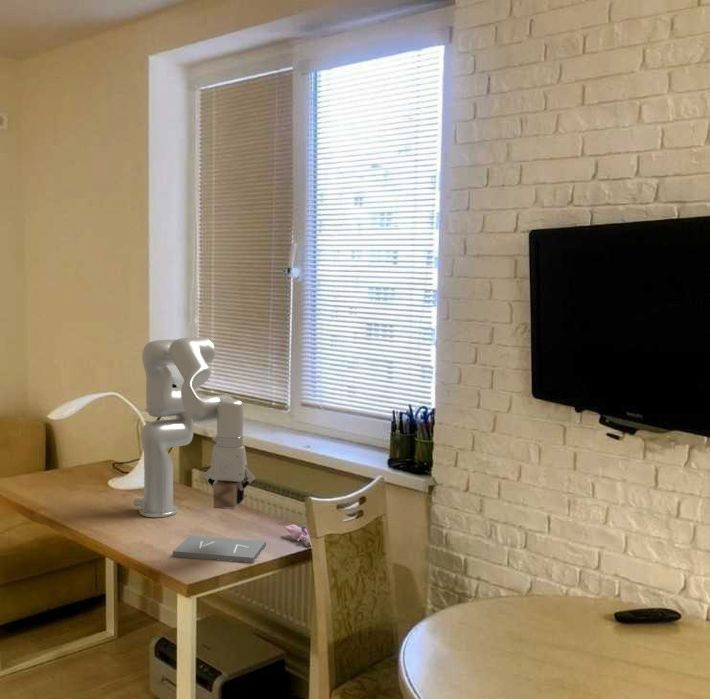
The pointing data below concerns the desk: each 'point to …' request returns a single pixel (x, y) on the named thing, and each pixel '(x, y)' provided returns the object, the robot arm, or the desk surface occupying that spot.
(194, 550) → the slate board
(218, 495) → the block
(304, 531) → the pink plastic figure
